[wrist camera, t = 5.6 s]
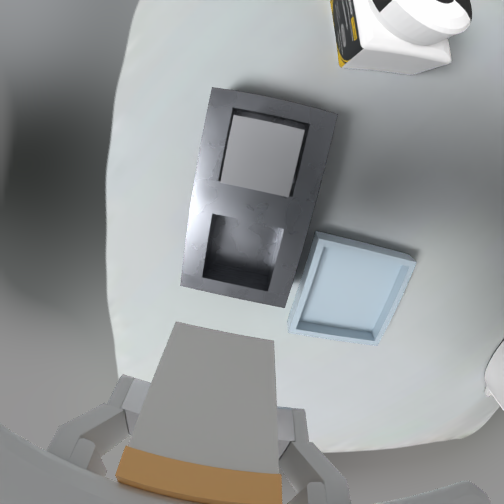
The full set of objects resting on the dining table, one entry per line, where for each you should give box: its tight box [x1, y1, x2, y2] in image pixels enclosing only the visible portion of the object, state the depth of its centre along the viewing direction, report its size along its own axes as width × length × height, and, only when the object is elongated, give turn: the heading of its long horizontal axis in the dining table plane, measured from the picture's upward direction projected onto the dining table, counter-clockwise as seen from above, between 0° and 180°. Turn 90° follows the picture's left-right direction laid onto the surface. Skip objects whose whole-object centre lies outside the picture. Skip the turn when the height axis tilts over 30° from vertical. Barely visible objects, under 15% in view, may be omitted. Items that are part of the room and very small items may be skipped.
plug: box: [115, 322, 282, 504], centre depth 9 cm, size 4×4×7 cm
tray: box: [287, 231, 417, 346], centre depth 27 cm, size 10×10×2 cm
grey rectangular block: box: [220, 115, 305, 197], centre depth 20 cm, size 4×4×7 cm
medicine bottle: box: [330, 0, 472, 75], centre depth 13 cm, size 7×7×12 cm
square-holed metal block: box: [180, 87, 338, 308], centre depth 24 cm, size 16×9×4 cm, turn 168°
